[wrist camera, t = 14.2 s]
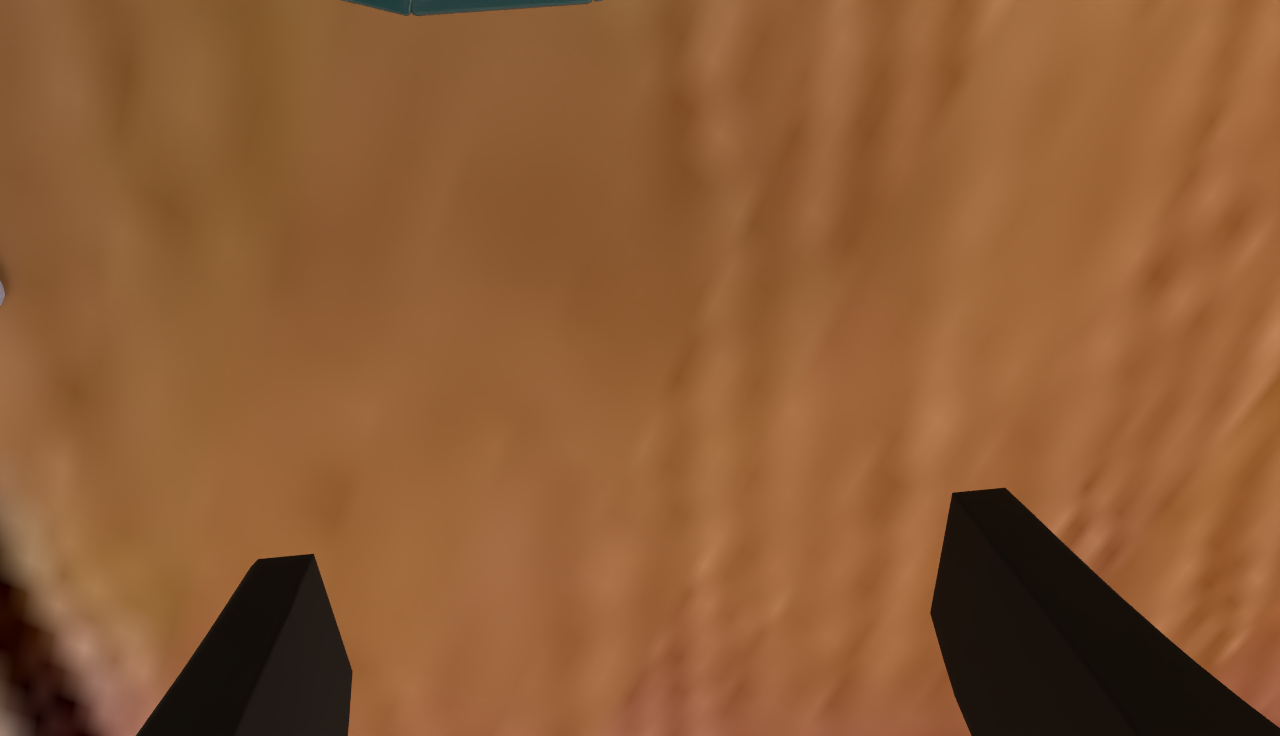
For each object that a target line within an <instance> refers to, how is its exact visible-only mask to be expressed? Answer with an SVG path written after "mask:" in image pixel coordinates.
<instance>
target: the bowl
mask: <svg viewBox="0 0 1280 736" xmlns="http://www.w3.org/2000/svg"><path fill="white" fill-rule="evenodd" d="M342 1H346V2H350V3H355V4H359V5H363V6H367V7H371V8H375V9H380V10H384V11H388V12H392V13H396V14H400V15H405V16H408V15H410V14H411V12H412V14H413V15H416V16H426V15H440V14H454V13H468V12H482V11H496V10H510V9H524V8H538V7H552V6H566V5H580V4H588V3H590V2H592V0H342ZM594 1H602V0H594Z"/></svg>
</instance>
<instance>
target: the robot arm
mask: <svg viewBox="0 0 1280 736" xmlns="http://www.w3.org/2000/svg"><path fill="white" fill-rule="evenodd" d="M4 297H5V293H4V288H3V285H2V283H1V281H0V306H1V305H2V303H3V300H4ZM930 614H931V617H932V621H933V624H934V628H935V631H936V635H937V638H938V642H939V645H940V649H941V652H942V656H943V659H944V663H945V666H946V669H947V672H948V676H949V679H950V682H951V685H952V688H953V692H954V695H955V698H956V700H957V702H958V705H959V707H960V710H961V712H962V714H963V717H964V719H965V721H966V724H967V726H968V728H969V731H970V733H971V735H972V736H1280V728H1279V727H1278V726H1276V725H1275V724H1274V723H1272V722H1271V721H1270V720H1268V719H1267V718H1266V717H1264V716H1263V715H1262V714H1260V713H1259V712H1258V711H1256V710H1255V709H1254V708H1252V707H1251V706H1250V705H1248V704H1247V703H1246V702H1245V701H1243V700H1242V699H1241V698H1240V697H1238V696H1237V695H1236V694H1235V693H1233V692H1232V691H1231V690H1230V689H1228V688H1227V687H1226V686H1225V685H1223V684H1222V683H1221V682H1220V681H1218V680H1217V679H1216V678H1215V677H1213V676H1212V675H1211V674H1210V673H1208V672H1207V671H1206V670H1205V669H1204V668H1202V667H1201V666H1200V665H1199V664H1197V663H1196V662H1195V661H1194V660H1193V659H1191V658H1190V657H1189V656H1188V655H1187V654H1186V653H1184V652H1183V651H1182V650H1181V649H1180V648H1178V647H1177V646H1176V645H1175V644H1174V643H1173V642H1171V641H1170V640H1169V639H1168V638H1167V637H1166V636H1164V635H1163V634H1162V633H1161V632H1160V631H1159V630H1158V629H1157V628H1155V627H1154V626H1153V625H1152V624H1151V623H1150V622H1149V621H1148V620H1146V619H1145V618H1144V617H1143V616H1142V615H1141V614H1140V613H1139V612H1137V611H1136V610H1135V609H1134V608H1133V607H1132V606H1131V605H1130V604H1128V603H1127V602H1126V601H1125V600H1124V599H1123V598H1122V597H1121V596H1119V595H1118V594H1117V593H1116V592H1115V591H1114V590H1113V589H1112V588H1111V587H1110V586H1109V585H1107V584H1106V583H1105V582H1104V581H1103V580H1102V579H1101V578H1100V577H1099V576H1098V575H1097V574H1096V573H1095V572H1093V571H1092V570H1091V569H1090V568H1089V567H1088V566H1087V565H1086V564H1085V563H1084V562H1083V561H1082V560H1081V559H1080V558H1079V557H1078V556H1076V555H1075V554H1074V553H1073V552H1072V551H1071V550H1070V549H1069V548H1068V547H1067V546H1066V545H1065V544H1064V543H1063V542H1062V541H1061V540H1060V539H1059V538H1058V537H1056V536H1055V535H1054V534H1053V533H1052V532H1051V531H1050V530H1049V529H1048V528H1047V527H1046V526H1045V525H1044V524H1043V523H1042V522H1041V521H1040V520H1039V519H1038V518H1037V517H1036V516H1035V515H1033V514H1032V513H1031V512H1030V511H1029V510H1028V509H1027V508H1026V507H1025V506H1024V505H1023V504H1022V503H1021V502H1020V501H1019V500H1018V499H1017V498H1015V497H1014V496H1013V495H1012V494H1011V493H1010V492H1009V491H1008V490H1007V489H1006V488H998V489H987V490H977V491H966V492H956V493H952V498H951V503H950V509H949V514H948V520H947V525H946V531H945V536H944V541H943V547H942V552H941V558H940V563H939V569H938V574H937V580H936V585H935V590H934V596H933V601H932V607H931V612H930ZM351 684H352V669H351V666H350V663H349V660H348V657H347V654H346V651H345V647H344V644H343V641H342V638H341V635H340V632H339V629H338V626H337V623H336V620H335V617H334V614H333V611H332V608H331V605H330V602H329V599H328V596H327V593H326V590H325V587H324V584H323V581H322V578H321V575H320V572H319V569H318V566H317V563H316V560H315V556H314V554H308V555H297V556H287V557H276V558H266V559H258V560H257V561H256V562H255V563H254V564H253V565H252V566H251V568H250V569H249V571H248V572H247V574H246V575H245V577H244V578H243V580H242V581H241V583H240V584H239V586H238V588H237V589H236V591H235V592H234V594H233V595H232V597H231V598H230V600H229V601H228V603H227V604H226V606H225V608H224V609H223V611H222V612H221V614H220V615H219V617H218V618H217V620H216V621H215V623H214V624H213V626H212V627H211V629H210V630H209V632H208V633H207V635H206V636H205V638H204V639H203V641H202V642H201V644H200V645H199V647H198V648H197V650H196V651H195V653H194V654H193V656H192V657H191V659H190V660H189V662H188V663H187V664H186V666H185V667H184V669H183V670H182V672H181V673H180V675H179V676H178V677H177V679H176V680H175V682H174V683H173V684H172V686H171V687H170V689H169V690H168V691H167V693H166V694H165V696H164V697H163V698H162V700H161V701H160V703H159V704H158V705H157V707H156V708H155V710H154V711H153V713H152V714H151V715H150V717H149V718H148V720H147V721H146V722H145V724H144V725H143V727H142V728H141V729H140V731H139V732H138V733H137V735H136V736H348V726H349V713H350V699H351Z"/></svg>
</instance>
